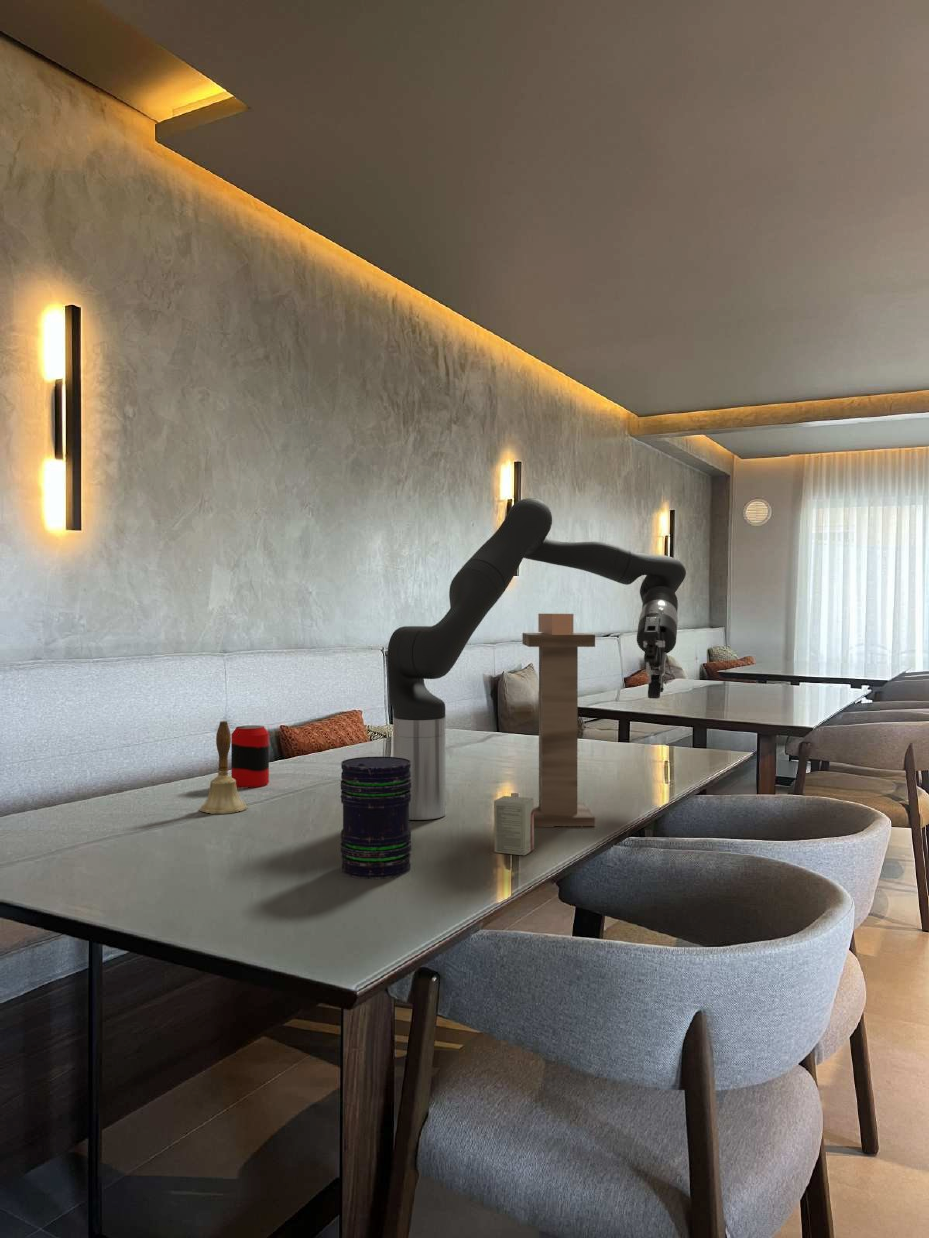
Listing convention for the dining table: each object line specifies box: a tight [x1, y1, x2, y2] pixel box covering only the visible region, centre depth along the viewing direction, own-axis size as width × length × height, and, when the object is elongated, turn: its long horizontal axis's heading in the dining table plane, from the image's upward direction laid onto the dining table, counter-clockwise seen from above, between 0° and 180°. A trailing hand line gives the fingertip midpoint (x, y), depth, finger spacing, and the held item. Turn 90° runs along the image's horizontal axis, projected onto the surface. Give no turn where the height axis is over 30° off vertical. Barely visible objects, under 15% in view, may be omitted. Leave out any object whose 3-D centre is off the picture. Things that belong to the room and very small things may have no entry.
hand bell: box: [199, 720, 248, 815], centre depth 170 cm, size 8×8×16 cm
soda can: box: [230, 724, 270, 788], centre depth 194 cm, size 8×8×12 cm
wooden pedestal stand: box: [521, 632, 596, 828], centre depth 163 cm, size 14×11×32 cm
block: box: [537, 613, 574, 635], centre depth 167 cm, size 24×4×4 cm, turn 1°
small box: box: [493, 795, 535, 856], centre depth 140 cm, size 5×4×8 cm
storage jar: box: [340, 756, 412, 880], centre depth 131 cm, size 10×10×15 cm
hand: (651, 679), depth 172 cm, fingers open, 8 cm apart
